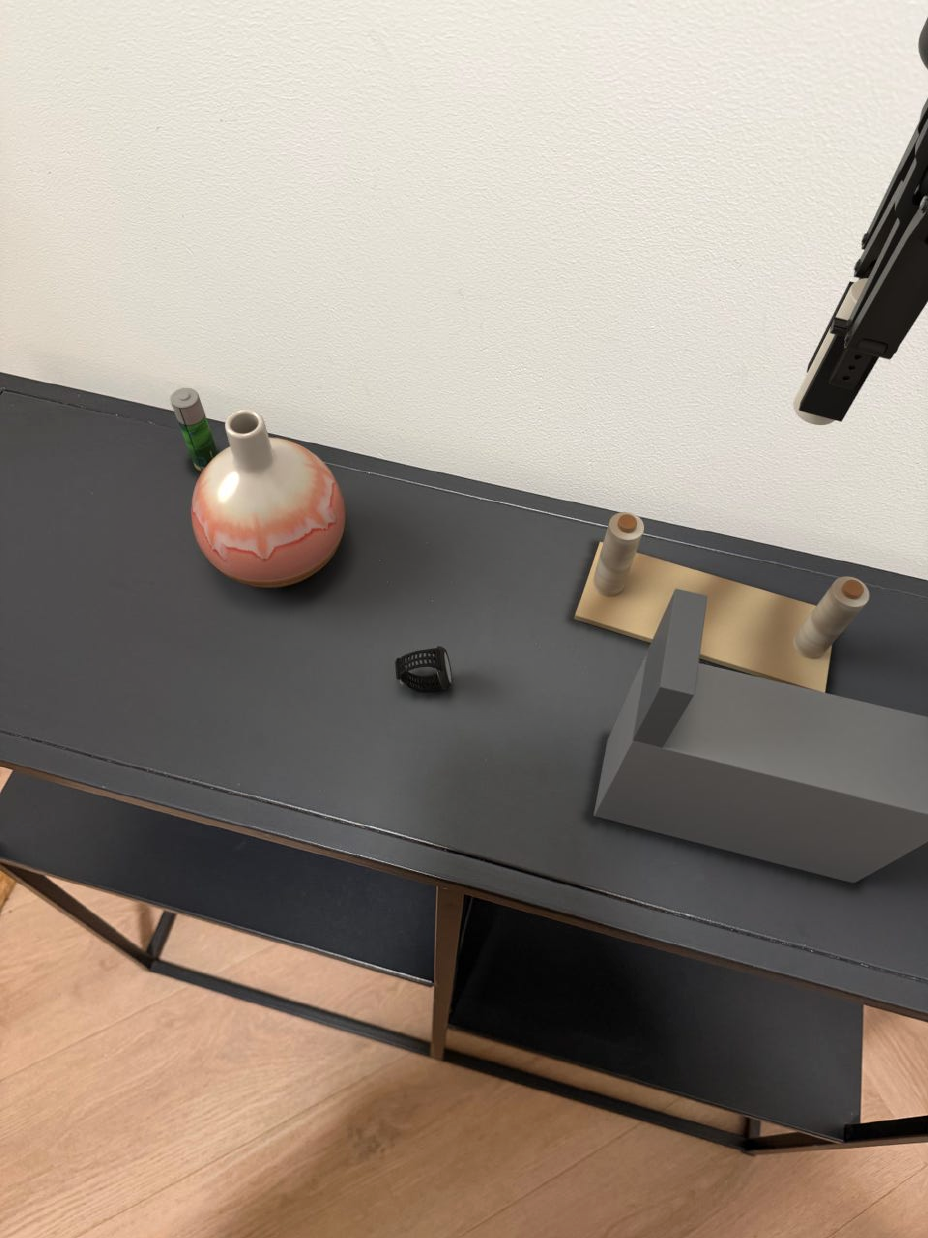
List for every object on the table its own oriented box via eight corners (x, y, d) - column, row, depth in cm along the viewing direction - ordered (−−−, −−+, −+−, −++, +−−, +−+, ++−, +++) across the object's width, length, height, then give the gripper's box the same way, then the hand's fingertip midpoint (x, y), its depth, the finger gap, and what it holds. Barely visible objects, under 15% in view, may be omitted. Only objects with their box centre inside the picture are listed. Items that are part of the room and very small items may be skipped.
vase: (189, 600, 78) (129, 475, 63) (232, 487, 85) (188, 351, 70) (332, 622, 77) (306, 501, 62) (364, 506, 84) (348, 373, 69)
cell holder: (833, 616, 79) (884, 552, 70) (821, 697, 75) (873, 639, 66) (598, 546, 82) (618, 476, 74) (574, 619, 78) (591, 555, 69)
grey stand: (855, 801, 70) (1030, 668, 49) (854, 884, 66) (1041, 778, 46) (607, 739, 72) (675, 587, 51) (593, 816, 68) (659, 686, 48)
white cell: (847, 410, 55) (919, 288, 47) (820, 432, 54) (889, 311, 46) (810, 385, 56) (874, 261, 48) (783, 406, 55) (843, 283, 47)
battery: (216, 449, 88) (192, 381, 79) (224, 467, 86) (201, 399, 78) (191, 458, 87) (164, 390, 79) (199, 476, 86) (173, 409, 78)
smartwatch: (447, 708, 73) (447, 683, 69) (391, 693, 74) (388, 667, 69) (460, 668, 75) (461, 641, 71) (405, 654, 76) (403, 626, 71)
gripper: (968, -126, 38) (785, 301, 59) (948, 39, 31) (745, 465, 51) (1141, -98, 37) (894, 328, 57) (1167, 81, 29) (870, 500, 50)
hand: (824, 391), depth 54 cm, fingers closed on white cell, 3 cm apart
